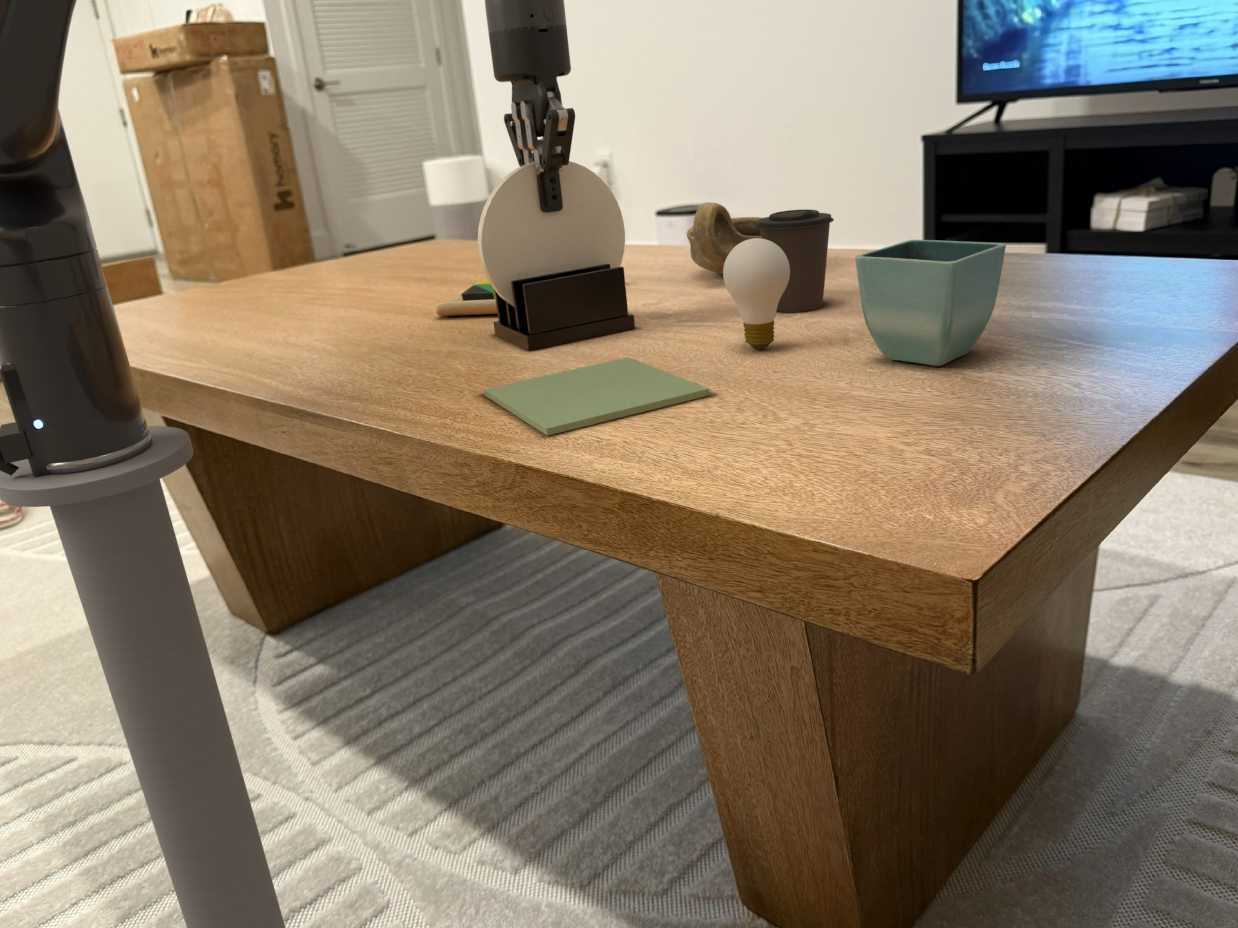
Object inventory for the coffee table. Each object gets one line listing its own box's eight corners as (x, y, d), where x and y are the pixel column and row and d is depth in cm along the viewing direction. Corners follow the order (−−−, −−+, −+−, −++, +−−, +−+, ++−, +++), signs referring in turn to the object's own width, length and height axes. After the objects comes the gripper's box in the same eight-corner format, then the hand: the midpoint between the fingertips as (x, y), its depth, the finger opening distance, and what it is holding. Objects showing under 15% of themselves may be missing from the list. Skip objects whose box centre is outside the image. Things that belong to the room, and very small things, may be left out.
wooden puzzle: (433, 320, 118) (428, 291, 116) (493, 288, 134) (489, 262, 133) (571, 315, 113) (567, 284, 111) (616, 282, 129) (613, 255, 128)
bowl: (814, 263, 128) (812, 184, 125) (753, 291, 115) (749, 204, 112) (721, 262, 136) (717, 188, 133) (654, 289, 123) (647, 207, 119)
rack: (529, 351, 98) (520, 286, 96) (495, 335, 107) (486, 275, 105) (635, 328, 103) (629, 266, 101) (594, 315, 111) (588, 257, 109)
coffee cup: (819, 316, 100) (816, 215, 97) (746, 314, 104) (741, 217, 101) (846, 299, 106) (845, 204, 103) (777, 297, 111) (773, 206, 107)
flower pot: (1004, 350, 82) (1009, 241, 79) (951, 377, 76) (953, 261, 73) (909, 340, 88) (910, 238, 85) (853, 364, 82) (852, 256, 79)
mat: (547, 436, 73) (546, 428, 72) (484, 395, 85) (483, 389, 84) (709, 395, 78) (708, 388, 78) (628, 363, 90) (627, 356, 90)
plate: (491, 330, 101) (471, 167, 95) (487, 328, 102) (467, 167, 96) (630, 306, 107) (619, 152, 102) (625, 305, 108) (614, 152, 103)
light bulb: (714, 351, 91) (707, 242, 87) (761, 338, 94) (756, 231, 90) (758, 361, 86) (752, 246, 83) (806, 347, 89) (802, 235, 86)
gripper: (467, 35, 99) (491, 212, 105) (516, 20, 87) (540, 220, 93) (536, 31, 102) (556, 203, 108) (592, 15, 90) (611, 209, 96)
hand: (548, 210), depth 100 cm, fingers closed on plate, 1 cm apart
